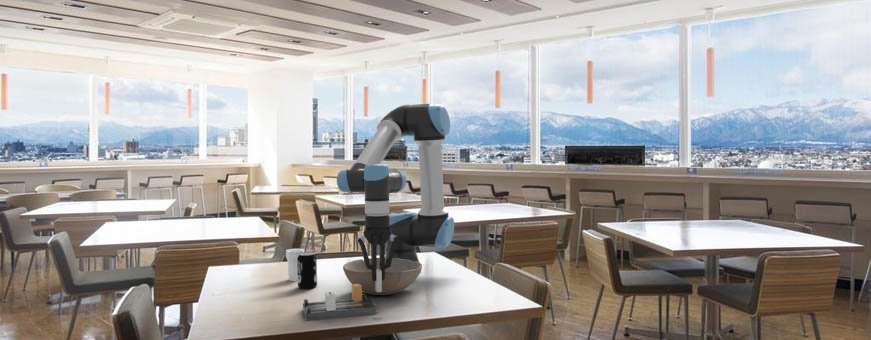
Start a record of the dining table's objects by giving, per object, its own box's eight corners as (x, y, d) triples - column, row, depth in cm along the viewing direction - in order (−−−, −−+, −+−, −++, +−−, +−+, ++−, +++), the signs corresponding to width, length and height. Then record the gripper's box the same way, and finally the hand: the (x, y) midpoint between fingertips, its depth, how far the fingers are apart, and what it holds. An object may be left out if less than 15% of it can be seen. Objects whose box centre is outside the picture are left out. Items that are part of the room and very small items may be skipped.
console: (368, 304, 185) (368, 293, 184) (376, 314, 173) (376, 303, 173) (302, 309, 179) (302, 299, 179) (306, 320, 167) (306, 309, 167)
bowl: (403, 281, 216) (402, 254, 216) (436, 297, 192) (435, 266, 192) (332, 290, 204) (332, 261, 204) (358, 307, 181) (358, 274, 180)
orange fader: (359, 298, 184) (359, 283, 183) (362, 300, 180) (361, 285, 180) (351, 298, 183) (351, 283, 183) (353, 301, 179) (353, 286, 179)
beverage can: (312, 289, 205) (311, 255, 204) (294, 289, 206) (293, 254, 206) (320, 285, 211) (319, 251, 211) (302, 285, 212) (301, 251, 212)
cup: (291, 282, 217) (291, 252, 217) (283, 279, 222) (282, 250, 222) (308, 279, 222) (307, 250, 221) (299, 276, 227) (298, 248, 226)
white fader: (333, 307, 173) (333, 291, 173) (335, 310, 170) (335, 294, 170) (325, 307, 172) (324, 292, 172) (326, 311, 169) (326, 294, 169)
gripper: (395, 212, 188) (396, 286, 189) (354, 214, 184) (355, 290, 185) (400, 214, 181) (402, 292, 182) (358, 216, 177) (359, 295, 178)
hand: (378, 291), depth 183 cm, fingers closed
